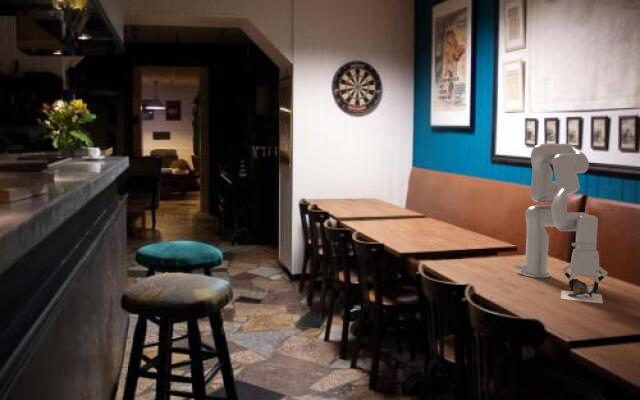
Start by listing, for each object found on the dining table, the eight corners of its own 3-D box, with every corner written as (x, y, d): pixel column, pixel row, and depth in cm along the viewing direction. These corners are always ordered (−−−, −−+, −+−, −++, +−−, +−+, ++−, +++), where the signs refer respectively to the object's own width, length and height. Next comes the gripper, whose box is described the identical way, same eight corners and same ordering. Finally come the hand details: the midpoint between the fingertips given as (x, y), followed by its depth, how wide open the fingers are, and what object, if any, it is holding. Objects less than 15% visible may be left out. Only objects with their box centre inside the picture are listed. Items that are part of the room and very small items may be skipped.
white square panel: (560, 298, 246) (560, 298, 246) (561, 290, 258) (561, 290, 258) (602, 303, 240) (602, 303, 240) (601, 294, 253) (601, 294, 253)
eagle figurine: (589, 291, 253) (566, 285, 255) (595, 279, 248) (571, 273, 250) (589, 305, 248) (566, 299, 249) (595, 293, 243) (571, 287, 245)
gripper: (561, 246, 246) (559, 290, 248) (610, 249, 240) (608, 295, 242) (562, 243, 253) (559, 286, 255) (609, 246, 247) (607, 291, 249)
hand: (583, 290), depth 248 cm, fingers open, 7 cm apart
